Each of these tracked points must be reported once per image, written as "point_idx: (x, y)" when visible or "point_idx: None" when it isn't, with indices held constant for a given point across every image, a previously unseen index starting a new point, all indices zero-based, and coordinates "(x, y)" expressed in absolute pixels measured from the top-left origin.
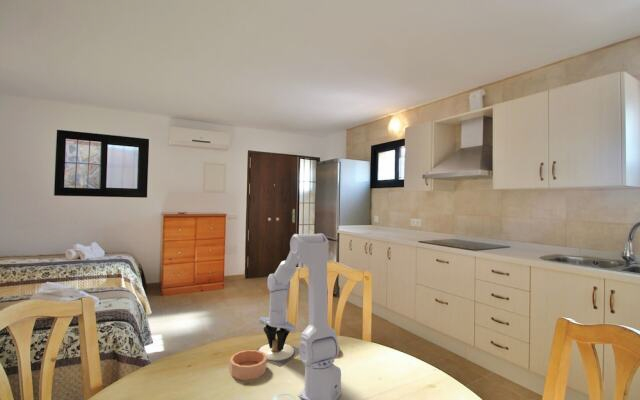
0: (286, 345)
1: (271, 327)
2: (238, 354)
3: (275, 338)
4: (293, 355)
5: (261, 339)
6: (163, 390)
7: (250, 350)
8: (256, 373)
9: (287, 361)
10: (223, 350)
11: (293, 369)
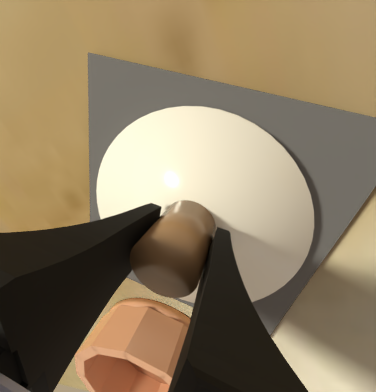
0: (226, 133)
1: (21, 378)
2: (86, 361)
3: (133, 223)
4: (316, 238)
5: (26, 59)
6: (65, 379)
7: (103, 351)
8: None
9: (291, 303)
10: (8, 229)
11: (339, 347)
